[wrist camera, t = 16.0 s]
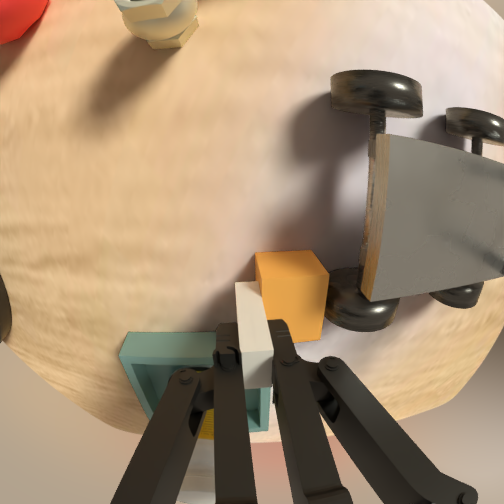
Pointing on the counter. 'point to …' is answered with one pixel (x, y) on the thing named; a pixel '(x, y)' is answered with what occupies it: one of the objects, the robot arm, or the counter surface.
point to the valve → (160, 20)
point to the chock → (293, 290)
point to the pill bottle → (200, 460)
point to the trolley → (418, 207)
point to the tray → (172, 358)
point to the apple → (18, 17)
